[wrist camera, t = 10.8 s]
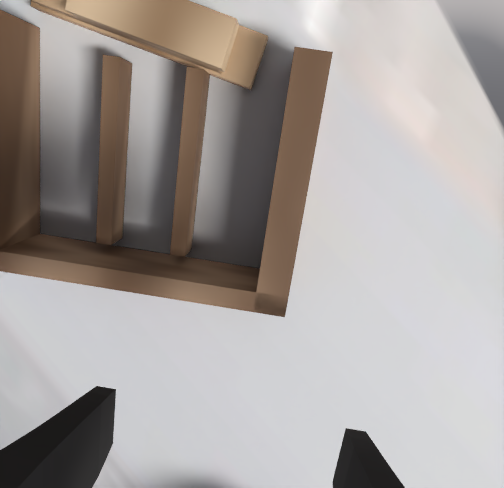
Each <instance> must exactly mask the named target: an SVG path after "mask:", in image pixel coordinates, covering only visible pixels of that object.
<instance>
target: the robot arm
mask: <svg viewBox="0 0 504 488" xmlns="http://www.w3.org/2000/svg"><path fill="white" fill-rule="evenodd" d="M115 395H116V389H111V388H105V387H99V386H96V387H95V388H93V389H92V390H91V391H89V392H88V393H86V394H85V395H83V396H82V397H80V398H79V399H78V400H76V401H75V402H73V403H72V404H71V405H69V406H68V407H66V408H65V409H63V410H62V411H61V412H59V413H58V414H56V415H55V416H53V417H52V418H50V419H49V420H47V421H46V422H44V423H43V424H41V425H40V426H38V427H37V428H35V429H34V430H32V431H31V432H29V433H28V434H26V435H24V436H23V437H21V438H19V439H18V440H16V441H15V442H13V443H11V444H10V445H8V446H7V447H5V448H3V449H2V450H0V488H92V487H93V485H94V483H95V481H96V480H97V478H98V476H99V474H100V471H101V469H102V467H103V465H104V463H105V460H106V458H107V456H108V453H109V451H110V449H111V446H112V444H113V430H114V412H115ZM333 488H405V487H404V486H403V484H402V483H401V482H400V480H399V479H398V478H397V476H396V475H395V473H394V472H393V471H392V469H391V468H390V466H389V465H388V463H387V462H386V460H385V459H384V458H383V456H382V455H381V453H380V452H379V450H378V449H377V447H376V446H375V444H374V443H373V441H372V440H371V439H370V437H369V436H368V434H367V433H366V432H364V431H358V430H353V429H347V428H346V430H345V434H344V438H343V442H342V446H341V450H340V454H339V458H338V462H337V466H336V470H335V474H334V478H333Z"/></svg>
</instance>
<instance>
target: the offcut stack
mask: <svg viewBox="0 0 504 488" xmlns="http://www.w3.org/2000/svg"><path fill="white" fill-rule="evenodd" d="M31 7H33V8H35V9H37V10H39V11H41V12H44V13H47V14H49V15H52V16H55V17H57V18H60V19H63V20H65V21H68V22H71V23H73V24H76V25H79V26H81V27H84V28H87V29H89V30H92V31H95V32H97V33H100V34H103V35H105V36H108V37H111V38H113V39H116V40H119V41H121V42H124V43H127V44H129V45H132V46H135V47H137V48H140V49H143V50H145V51H148V52H151V53H153V54H156V55H159V56H161V57H164V58H167V59H169V60H172V61H175V62H177V63H180V64H182V65H185V66H188V67H192V68H199V69H204V70H205V71H207V72H208V73H209V74H210V75H212V76H214V77H217V78H220V79H222V80H225V81H228V82H230V83H233V84H236V85H238V86H241V87H244V88H246V89H249V90H251V89H252V86H253V83H254V80H255V77H256V74H257V71H258V68H259V65H260V62H261V59H262V56H263V53H264V50H265V47H266V44H267V41H268V36H267V35H264V34H261V33H259V32H256V31H253V30H251V29H248V28H246V27H243V26H240V25H239V24H238V21H237V19H236V18H233V17H231V16H228V15H225V14H223V13H220V12H217V11H215V10H212V9H210V8H207V7H204V6H202V5H199V4H196V3H194V2H191V1H188V0H31Z"/></svg>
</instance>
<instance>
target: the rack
mask: <svg viewBox="0 0 504 488" xmlns="http://www.w3.org/2000/svg"><path fill="white" fill-rule="evenodd" d="M332 53H333V52H328V51H321V50H314V49H307V48H300V47H295V48H294V55H293V61H292V67H291V74H290V80H289V86H288V93H287V99H286V106H285V112H284V118H283V125H282V131H281V137H280V144H279V150H278V157H277V163H276V169H275V176H274V182H273V189H272V195H271V201H270V208H269V214H268V221H267V227H266V233H265V240H264V246H263V253H262V259H261V265H260V269H259V268H253V267H247V266H241V265H234V264H228V263H222V262H215V261H209V260H203V259H196V258H190V257H185V256H186V255H187V254H188V253H189V251H190V250H191V249H192V240H193V230H194V221H195V211H196V202H197V192H198V183H199V173H200V164H201V154H202V145H203V135H204V126H205V116H206V107H207V97H208V88H209V78H210V74H209V73H208V72H207V71H205V70H204V69H199V68H192V67H187V70H186V81H185V92H184V103H183V114H182V125H181V136H180V147H179V159H178V170H177V181H176V192H175V203H174V214H173V225H172V236H171V247H170V254H165V253H158V252H152V251H146V250H139V249H133V248H127V247H120V246H114V245H112V244H114V243H115V242H117V241H119V240H120V239H122V237H123V219H124V201H125V183H126V165H127V147H128V129H129V111H130V93H131V75H132V63H130V62H128V61H126V60H124V59H123V58H121V57H115V56H108V55H103V66H102V94H101V121H100V148H99V175H98V202H97V230H96V243H95V242H89V241H82V240H76V239H70V238H63V237H57V236H51V235H44V234H40V28H38V27H36V26H34V25H32V24H30V23H28V22H26V21H23V20H21V19H19V18H17V17H15V16H13V15H11V14H9V13H6V12H4V11H2V10H0V271H3V272H9V273H15V274H21V275H28V276H34V277H40V278H46V279H52V280H59V281H65V282H71V283H77V284H83V285H90V286H96V287H102V288H108V289H114V290H120V291H127V292H133V293H139V294H145V295H151V296H158V297H164V298H170V299H176V300H182V301H189V302H195V303H201V304H207V305H213V306H219V307H226V308H232V309H238V310H244V311H250V312H257V313H263V314H269V315H275V316H281V317H285V313H286V307H287V302H288V296H289V290H290V285H291V279H292V274H293V268H294V263H295V257H296V252H297V246H298V241H299V235H300V230H301V224H302V219H303V213H304V207H305V202H306V196H307V191H308V185H309V180H310V174H311V169H312V163H313V158H314V152H315V147H316V141H317V136H318V130H319V124H320V119H321V113H322V108H323V102H324V97H325V91H326V86H327V80H328V75H329V69H330V64H331V58H332Z"/></svg>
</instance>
